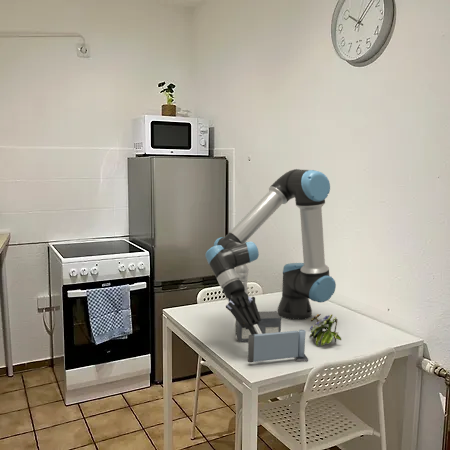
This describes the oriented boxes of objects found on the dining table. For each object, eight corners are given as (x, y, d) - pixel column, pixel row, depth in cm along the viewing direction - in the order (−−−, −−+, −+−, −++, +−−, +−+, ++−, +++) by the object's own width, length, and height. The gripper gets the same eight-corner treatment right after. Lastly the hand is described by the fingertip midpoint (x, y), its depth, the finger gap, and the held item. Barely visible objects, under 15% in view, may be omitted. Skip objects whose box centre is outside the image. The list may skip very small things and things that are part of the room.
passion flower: (314, 353, 192) (316, 320, 198) (345, 354, 186) (346, 319, 192) (303, 344, 182) (305, 309, 188) (336, 344, 176) (337, 308, 182)
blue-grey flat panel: (302, 354, 173) (303, 329, 171) (305, 356, 170) (306, 331, 169) (246, 360, 166) (247, 334, 165) (249, 362, 164) (250, 337, 163)
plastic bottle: (238, 301, 235) (239, 260, 232) (232, 298, 241) (233, 258, 238) (250, 300, 238) (251, 259, 235) (243, 296, 244) (244, 257, 241)
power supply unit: (275, 333, 195) (276, 311, 194) (280, 341, 187) (281, 318, 186) (235, 334, 193) (236, 312, 192) (239, 342, 185) (239, 319, 183)
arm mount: (304, 356, 173) (304, 354, 173) (307, 361, 170) (308, 358, 169) (293, 356, 173) (293, 354, 173) (296, 361, 169) (296, 359, 169)
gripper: (239, 287, 185) (269, 343, 175) (212, 292, 176) (242, 352, 166) (249, 276, 180) (281, 333, 170) (222, 281, 171) (254, 342, 162)
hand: (262, 342), depth 168 cm, fingers closed
